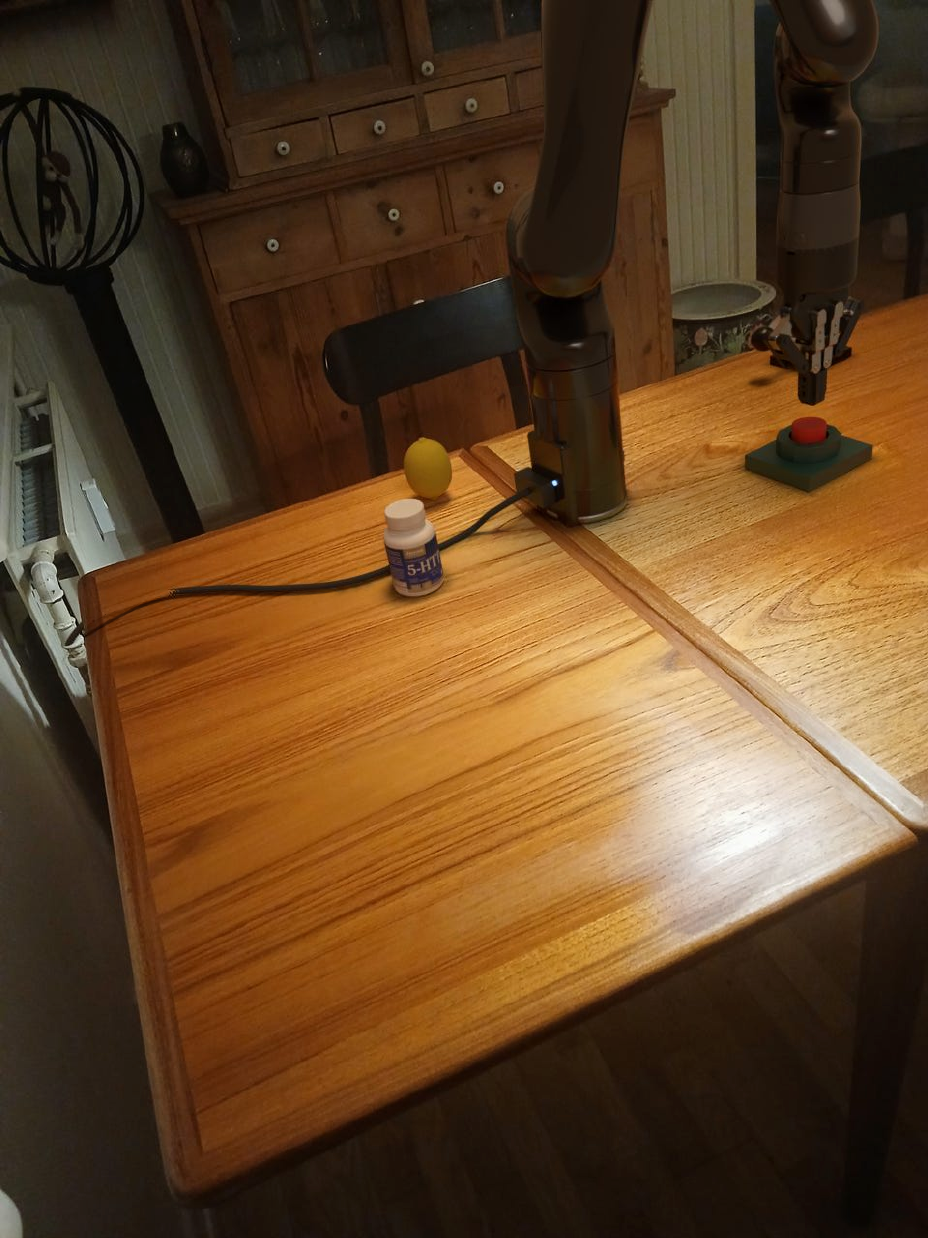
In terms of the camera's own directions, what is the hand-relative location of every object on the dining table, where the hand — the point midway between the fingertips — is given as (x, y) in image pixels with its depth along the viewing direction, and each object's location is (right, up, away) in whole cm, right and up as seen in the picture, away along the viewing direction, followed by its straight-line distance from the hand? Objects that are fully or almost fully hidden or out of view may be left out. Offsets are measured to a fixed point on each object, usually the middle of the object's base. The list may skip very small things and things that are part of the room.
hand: (811, 402), depth 102 cm
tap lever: (+6, +16, +23) cm, 28 cm away
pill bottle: (-42, -20, -4) cm, 46 cm away
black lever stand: (+10, +12, +28) cm, 32 cm away
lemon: (-41, -9, +12) cm, 43 cm away
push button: (+1, -3, +2) cm, 4 cm away
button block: (+1, -6, +4) cm, 7 cm away
